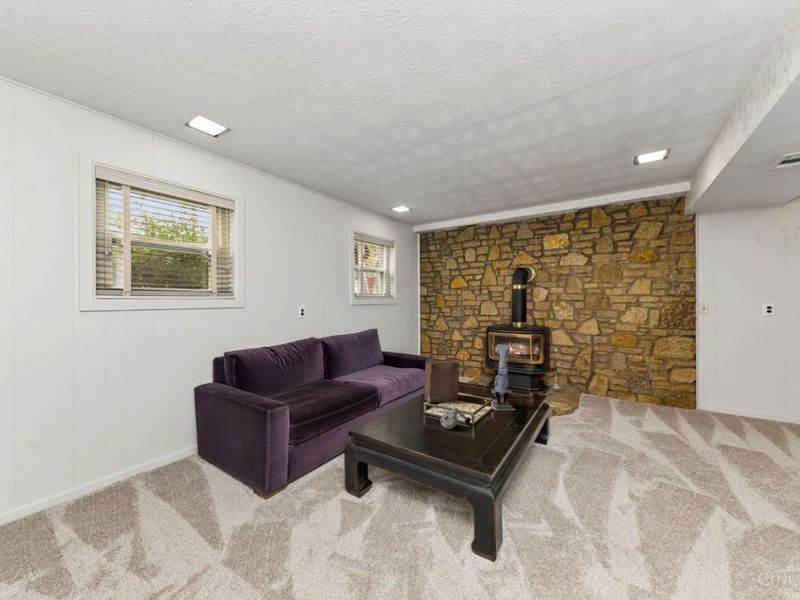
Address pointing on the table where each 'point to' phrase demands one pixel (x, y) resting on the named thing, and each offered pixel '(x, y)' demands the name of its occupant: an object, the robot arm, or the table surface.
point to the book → (441, 381)
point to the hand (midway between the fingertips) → (501, 402)
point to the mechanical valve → (452, 418)
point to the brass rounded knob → (501, 400)
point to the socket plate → (501, 406)
